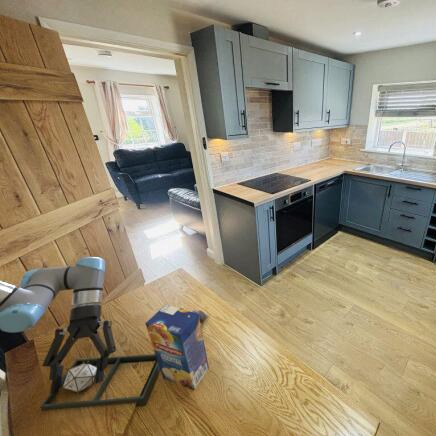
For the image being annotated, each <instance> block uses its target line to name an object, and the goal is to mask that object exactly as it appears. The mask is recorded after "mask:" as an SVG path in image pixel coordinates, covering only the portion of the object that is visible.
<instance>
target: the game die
mask: <svg viewBox="0 0 436 436" xmlns="http://www.w3.org/2000/svg"><path fill="white" fill-rule="evenodd" d="M84 363H85V362H84V361H83V362H82V364H81V365H79V366H76V367H74V368H71V369H70V367H66V368H65V370H66V373H67V375H66V378H65V381H64V384H63V387H62V388H60V389H59V390H60V391H61V390H67V391H69V392H74V393H76V396H78V395H79V394H80V392H81V391H83V390H85V389H87V388H90V387H91V386H92V385H93V384H94V383H95V380H96V370H97V366H96V365H91V364H88V363H89V360H88V361H87V363H85V364H84ZM67 371H68V372H67Z"/></svg>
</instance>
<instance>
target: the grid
mask: <svg viewBox="0 0 436 436" xmlns="http://www.w3.org/2000/svg"><path fill="white" fill-rule="evenodd" d="M98 358H99V357H94V358H79V359H75V361H74V363H72V365H70V367H69V369H71V368H74V367H76V366H79V365H81V364H82V362H83V361H84V362H85V363H87V361H88V360H89V363H88V364H91V365H93V366H97V359H98ZM145 362H147V363H148V362H154V363H153V366H152V368H151V370H150V372H149V374H148V377H147V379H146V380H145V384H144V385H143V387H142V390H141V392H140V394H139V396H129V397H120V398H119V397H118V398H117V397H116V398H104V399H101V397H102V396H103V394H104V392H105V391H106V389H107V387H108V385H109V384H110V382H111V381H112V379H113V377H114V376H115V374H116V373H117V370H118V368H119V367H120V365H121V364H131V363H133V364H134V363H145ZM85 363H84V364H85ZM108 365H113V366H112V368H111V369H110V371H109V372H108V374H107V376H106V378H105V379H104V380H103V382H102V384H101V386H100V388H98V391H96V394H95V396H94V398H93V399H92V400H81V401H69V402H56V403H52V401H53V400H54V399H55V397H56V396H57V394H58V393H59V392H60V391H58V392H55V393H53V394H50V393H49V394H48V395H47V397H46V398H45V400H44V401H43V402H42V403H41V405H40V406H39V408H40V409H41V411H42V412H43V411H53V410H67V409H77V408H79V409H80V408H89V407H90V408H91V407H103V406H112V405H113V406H114V405H124V404H134V408H136V407H146V406H147V405H148V402H149V400H150V397H151V394H152V393H153V391H154V388H155V385H156V383H157V380H158V379H159V375H160V374H161V370H160V367H159V364H158V361H157V358H156V355H155V353H150V354H137V355H136V354H135V355H123V356H122V355H121V356H109V357H108ZM67 372H68V370H66V372H65V374H64V375H63V376H62V381H61V388H62V387H63V384H64V381H65V378H66V375H67Z"/></svg>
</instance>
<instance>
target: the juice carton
mask: <svg viewBox="0 0 436 436" xmlns="http://www.w3.org/2000/svg"><path fill="white" fill-rule="evenodd" d="M180 308H181V307H176V306H173V305H170V304H165V305H163V306H162V307H161V308H160V309H158V311H157V312H156V313H155V314H154V315H152V316H151V318H149V319H148V320H147V321H145V326H146V330H147V333H148V336H149V339H150V342H151V345H152V348H153V352H154V354H155V355H156V358H157V361H158V364H159V367H160V370H161V371H160V374H161V376H162V378H163V380H167V381H168V382H172V383H174V384H175V385H176V384H177V385H180V386H182V387H184V388H187V389H189V390H192V391H195V390H196V388H197V387H198V385H199V384H200V382H201V381H202V379H203V377H204V376H205V375H206V373H207V371H208V370H209V368H210V367H209V366H210V365H209V361H208V355H207V351H206V346H205V345H206V344H205V340H204V336H203V335H204V334H203V330H202V323H201V324H200V319H199V314H197V313H194V312H192V311H191V310H187V309H184V308H183V309H184V310H183V309H180Z"/></svg>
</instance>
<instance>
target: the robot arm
mask: <svg viewBox="0 0 436 436" xmlns="http://www.w3.org/2000/svg"><path fill="white" fill-rule="evenodd" d="M105 275H106V261H105V259H103V258H102V257H98V256H87V257H86V256H85V257H81V258H80V257H79V258H78V259H77V261H76V263H75V264H74V265H67V266H55V267H54V266H53V267H42V268H35V269H30V270H28V271H26V272H24V274H23V275H22V278H21V279H20V283H19V286H16V285H13V284H11V283H8V282H5V281H3V280H0V331H2V332H6V333H21V332H24V331H27V330H29V329H30V328H33V326H35V325H36V323H38V321H39V320H40V318H42V317H43V316H44V314H45V312H46V311H47V309H48V308H49V306H50V305H51V304H52V302H53V301H54V300H55V298H56V297H57V296H58V294H59V293H60V292H63V291H71V290H72V297H71V302H70V303H71V304H70V306H71V309H70V311H69V323H68V326H67V327H61V328H56V329H55V330H54V338H53V341H52V342H51V345H50V347H49V349H48V351H47V354H46V356H45V358H44V360H43V363H42V367H48V368H49V369H50V370H49V377H48V378H49V381H51V385H50V393H49V395H50V394H53V393H55V392H58V391H59V392H60V391H61V390H59V389H60V388H61V381H62V378H63V372H64V366H65V365H64V364H62V363H63V361H64V359H65V358H66V356H67V355H68V353H69V352H70V350H71V349H72V348H73V346H74V345H75V343H76V342H78V340H79V339H85V338H89V339H90V341H91V342H92V343H93V345H94V347H95V349H96V351H97V352H98V354H99V355H100V356H99V357H97V358H98V359H97V365H96V367H97V370H96V376H95V380H94V384H95V385H98V384H100V383H103V382H104V378H105V377H104V376H105V369H107V368H108V366H109V364H108V357H110V355H112V354H113V353H115V352H117V345H116V343H115V339H114V335H113V330H112V323H113V321H112V320H111V319H108V320H107V319H105V320H101V316H102V305H101V304H102V303H103V296H104V295H103V294H104V283H105V277H106V276H105ZM100 327H101V329H102V334H103V337H104V340H103V339H102V337H101V336H100V335H101V334H100V332H99V331H98V329H99V328H100ZM68 333H69V335H68V336H67V338H66V339H65V337H66V335H67V334H68ZM64 340H65V342H64ZM104 341H105V342H104ZM63 342H64V344H63ZM62 344H63V345H62ZM61 346H62V347H61ZM59 392H58V393H59Z"/></svg>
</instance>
